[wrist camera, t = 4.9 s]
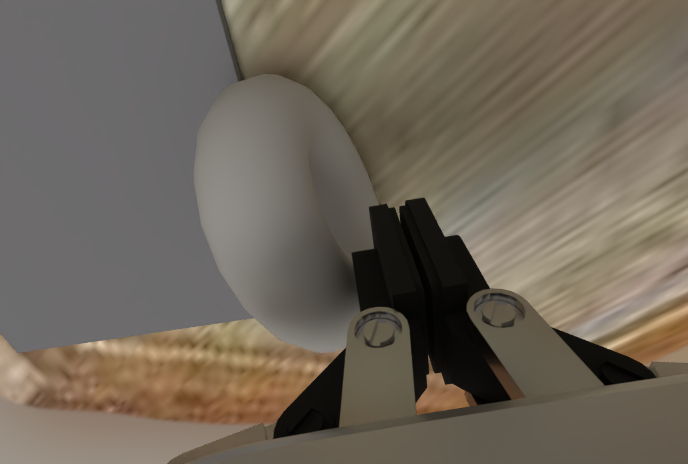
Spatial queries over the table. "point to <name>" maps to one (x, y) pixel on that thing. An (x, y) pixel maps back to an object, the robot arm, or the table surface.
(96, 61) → the mat
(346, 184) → the donut
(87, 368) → the table surface
